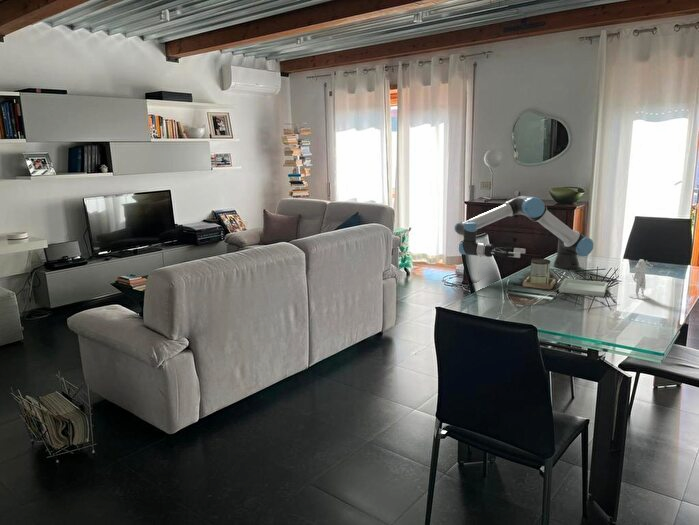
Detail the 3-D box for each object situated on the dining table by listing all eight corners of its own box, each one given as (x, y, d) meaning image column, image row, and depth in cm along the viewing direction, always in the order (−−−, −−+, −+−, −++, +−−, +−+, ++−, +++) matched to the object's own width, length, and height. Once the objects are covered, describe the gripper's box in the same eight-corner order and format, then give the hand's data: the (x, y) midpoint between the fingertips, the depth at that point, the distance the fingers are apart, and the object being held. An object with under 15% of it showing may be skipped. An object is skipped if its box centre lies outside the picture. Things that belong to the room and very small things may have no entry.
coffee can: (527, 282, 304) (529, 258, 301) (546, 282, 303) (547, 258, 300) (532, 287, 294) (533, 262, 291) (551, 287, 293) (552, 262, 290)
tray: (564, 282, 302) (565, 278, 302) (607, 286, 292) (607, 282, 291) (558, 291, 284) (559, 287, 283) (603, 296, 273) (604, 292, 272)
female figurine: (621, 299, 267) (625, 261, 263) (628, 292, 279) (632, 255, 275) (645, 303, 261) (649, 264, 256) (652, 296, 273) (656, 258, 268)
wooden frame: (528, 280, 309) (528, 276, 308) (555, 283, 301) (555, 278, 301) (522, 286, 296) (523, 282, 295) (550, 289, 289) (551, 285, 288)
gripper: (490, 252, 321) (526, 255, 311) (479, 260, 300) (517, 263, 290) (491, 240, 320) (527, 243, 310) (479, 247, 299) (518, 250, 288)
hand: (522, 253), depth 300 cm, fingers open, 13 cm apart
